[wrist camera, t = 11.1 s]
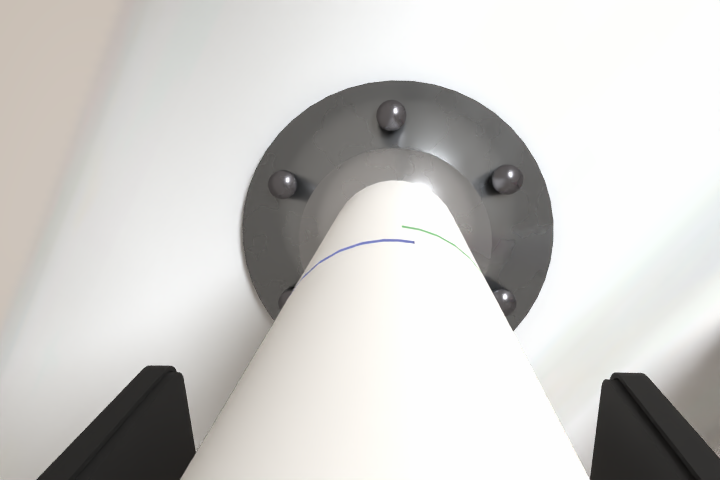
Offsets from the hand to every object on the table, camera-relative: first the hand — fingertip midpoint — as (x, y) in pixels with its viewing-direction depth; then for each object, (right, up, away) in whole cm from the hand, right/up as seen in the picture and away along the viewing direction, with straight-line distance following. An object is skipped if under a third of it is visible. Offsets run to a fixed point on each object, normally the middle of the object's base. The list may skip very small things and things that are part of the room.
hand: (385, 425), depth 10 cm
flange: (+1, +4, +17) cm, 18 cm away
